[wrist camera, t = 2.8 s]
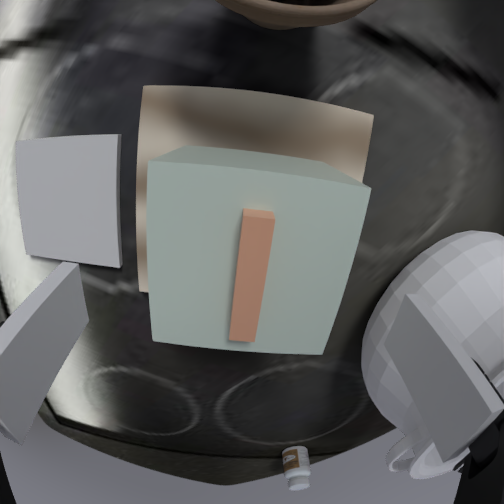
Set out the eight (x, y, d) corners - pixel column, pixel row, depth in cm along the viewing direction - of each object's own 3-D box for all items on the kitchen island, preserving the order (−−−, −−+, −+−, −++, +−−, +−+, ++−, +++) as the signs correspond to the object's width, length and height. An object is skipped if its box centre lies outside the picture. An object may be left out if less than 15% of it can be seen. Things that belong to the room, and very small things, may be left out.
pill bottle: (290, 443, 41) (295, 482, 34) (311, 446, 42) (318, 483, 35) (277, 453, 42) (280, 490, 35) (297, 456, 43) (302, 491, 36)
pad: (20, 140, 20) (15, 141, 20) (121, 134, 21) (117, 134, 21) (30, 251, 25) (26, 254, 25) (122, 264, 26) (119, 267, 25)
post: (148, 87, 20) (79, 67, 10) (368, 115, 21) (448, 118, 11) (143, 284, 27) (102, 365, 17) (326, 302, 29) (359, 386, 19)
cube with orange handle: (185, 145, 18) (139, 164, 10) (322, 161, 19) (381, 194, 11) (179, 269, 22) (148, 353, 14) (298, 280, 23) (325, 367, 14)
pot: (367, 404, 37) (398, 499, 22) (317, 282, 28) (376, 437, 12) (501, 326, 33) (555, 395, 18) (504, 184, 23) (612, 243, 8)
